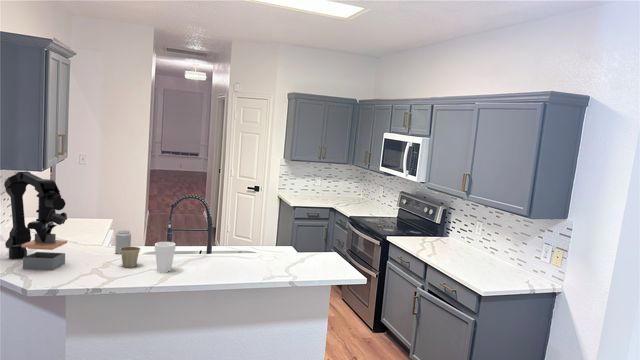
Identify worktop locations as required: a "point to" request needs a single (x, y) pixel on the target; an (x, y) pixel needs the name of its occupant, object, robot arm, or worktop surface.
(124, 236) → the can
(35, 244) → the lid
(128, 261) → the flower pot
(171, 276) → the worktop surface
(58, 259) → the storage box
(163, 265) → the foam cup
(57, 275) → the worktop surface
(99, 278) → the worktop surface
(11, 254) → the robot arm
